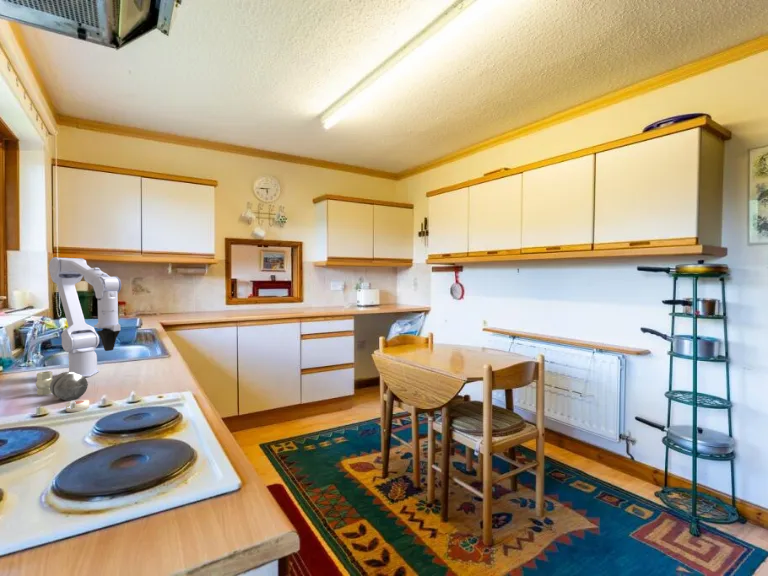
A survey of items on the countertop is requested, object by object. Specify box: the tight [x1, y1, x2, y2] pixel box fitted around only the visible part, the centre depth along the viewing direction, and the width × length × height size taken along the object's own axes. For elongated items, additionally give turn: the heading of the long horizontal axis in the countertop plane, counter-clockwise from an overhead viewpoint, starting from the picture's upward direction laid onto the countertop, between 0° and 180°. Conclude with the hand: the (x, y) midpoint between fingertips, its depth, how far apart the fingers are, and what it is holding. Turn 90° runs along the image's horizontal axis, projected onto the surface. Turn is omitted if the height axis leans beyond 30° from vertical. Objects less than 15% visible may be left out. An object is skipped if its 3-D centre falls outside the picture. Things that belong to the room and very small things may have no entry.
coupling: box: [50, 371, 89, 402], centre depth 118 cm, size 5×8×8 cm, turn 145°
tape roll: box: [65, 399, 90, 413], centre depth 109 cm, size 5×5×2 cm
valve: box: [35, 370, 54, 396], centre depth 123 cm, size 7×7×12 cm
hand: (108, 350), depth 139 cm, fingers closed
